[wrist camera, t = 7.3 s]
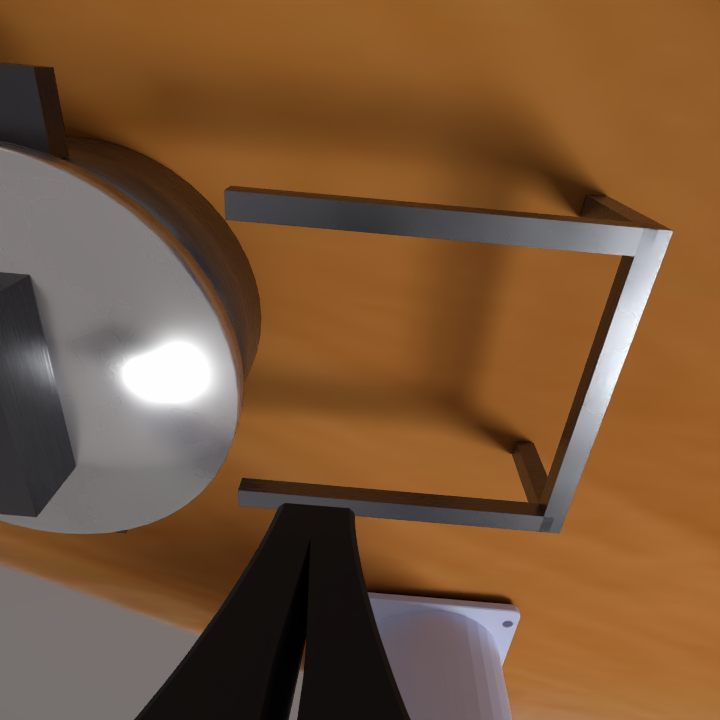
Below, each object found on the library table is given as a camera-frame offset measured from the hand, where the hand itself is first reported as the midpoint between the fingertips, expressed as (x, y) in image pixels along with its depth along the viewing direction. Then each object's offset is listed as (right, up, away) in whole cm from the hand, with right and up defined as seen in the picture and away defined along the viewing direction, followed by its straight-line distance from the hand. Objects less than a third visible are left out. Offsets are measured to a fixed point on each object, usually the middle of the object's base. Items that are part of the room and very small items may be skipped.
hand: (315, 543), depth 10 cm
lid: (-8, +3, +5) cm, 10 cm away
